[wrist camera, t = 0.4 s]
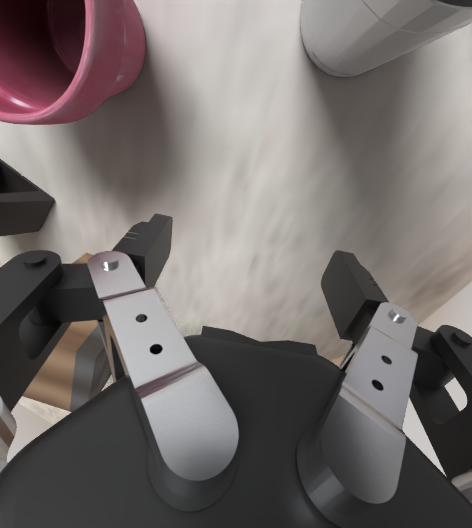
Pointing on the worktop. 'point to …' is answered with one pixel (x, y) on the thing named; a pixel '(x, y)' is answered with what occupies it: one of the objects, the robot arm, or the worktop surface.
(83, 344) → the housing
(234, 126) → the worktop surface
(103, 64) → the plant pot
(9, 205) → the phone stand
